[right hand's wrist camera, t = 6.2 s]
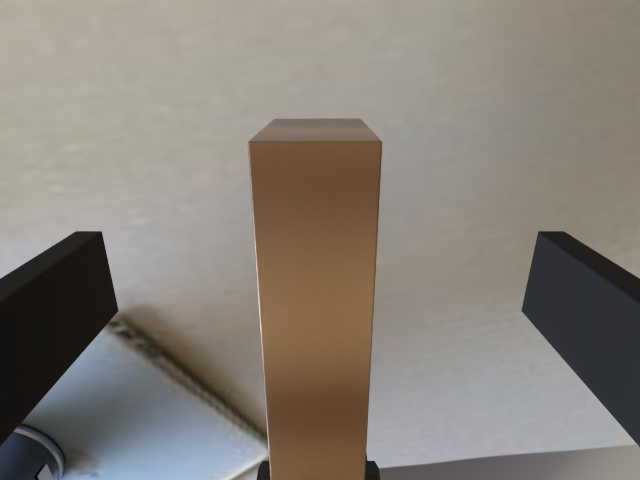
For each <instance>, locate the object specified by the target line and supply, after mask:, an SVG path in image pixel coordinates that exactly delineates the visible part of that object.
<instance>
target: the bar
mask: <svg viewBox="0 0 640 480" xmlns="http://www.w3.org/2000/svg"><path fill="white" fill-rule="evenodd" d="M248 155H249V170H250V185H251V199H252V214H253V228H254V243H255V258H256V272H257V287H258V302H259V316H260V331H261V346H262V360H263V375H264V389H265V404H266V419H267V433H268V448H269V463H270V477H271V480H365V463H366V444H367V425H368V406H369V387H370V367H371V348H372V329H373V310H374V291H375V272H376V252H377V233H378V214H379V195H380V176H381V157H382V141H381V140H380V139H379V138H378V137H377V136H376V135H375V134H374V133H373V132H372V131H371V130H370V129H369V128H368V126H367V125H366V124H365V123H364V122H363V121H362V120H361V119H274V120H273V121H272V122H271V123H269V124H268V125H267V126H266V127H265V128H264V129H262V130H261V131H260V132H259V133H258V134H257V135H255V136H254V137H253V138H252V139H251V140H250V141H248Z"/></svg>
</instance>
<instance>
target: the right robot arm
mask: <svg viewBox="0 0 640 480" xmlns="http://www.w3.org/2000/svg"><path fill="white" fill-rule="evenodd" d="M117 312H118V306H117V302H116V297H115V292H114V288H113V283H112V278H111V273H110V269H109V264H108V259H107V255H106V250H105V245H104V240H103V236H102V231H76V232H75V233H73V234H71V235H70V236H68V237H67V238H65V239H63V240H62V241H60V242H59V243H57V244H55V245H54V246H52V247H51V248H49V249H47V250H46V251H44V252H43V253H41V254H39V255H38V256H36V257H35V258H33V259H31V260H30V261H28V262H27V263H25V264H23V265H22V266H20V267H19V268H17V269H15V270H14V271H12V272H11V273H9V274H7V275H6V276H4V277H3V278H1V279H0V447H1V445H2V444H3V443H4V442H5V441H6V440H7V438H8V437H9V436H10V435H11V434H12V433H13V432H14V430H15V429H16V428H17V427H18V426H19V425H20V423H21V422H22V421H23V420H24V419H25V418H26V417H27V415H28V414H29V413H30V412H31V411H32V410H33V409H34V407H35V406H36V405H37V404H38V403H39V402H40V400H41V399H42V398H43V397H44V396H45V395H46V394H47V392H48V391H49V390H50V389H51V388H52V387H53V386H54V384H55V383H56V382H57V381H58V380H59V379H60V377H61V376H62V375H63V374H64V373H65V372H66V371H67V369H68V368H69V367H70V366H71V365H72V364H73V363H74V361H75V360H76V359H77V358H78V357H79V356H80V354H81V353H82V352H83V351H84V350H85V349H86V348H87V346H88V345H89V344H90V343H91V342H92V341H93V340H94V338H95V337H96V336H97V335H98V334H99V333H100V331H101V330H102V329H103V328H104V327H105V326H106V325H107V323H108V322H109V321H110V320H111V319H112V318H113V317H114V315H115V314H116V313H117ZM522 312H523V313H524V314H525V315H526V317H527V318H528V319H529V320H530V321H531V322H532V323H533V325H534V326H535V327H536V328H537V329H538V330H539V331H540V333H541V334H542V335H543V336H544V337H545V338H546V340H547V341H548V342H549V343H550V344H551V345H552V346H553V348H554V349H555V350H556V351H557V352H558V353H559V354H560V356H561V357H562V358H563V359H564V360H565V361H566V363H567V364H568V365H569V366H570V367H571V368H572V369H573V371H574V372H575V373H576V374H577V375H578V376H579V377H580V379H581V380H582V381H583V382H584V383H585V384H586V386H587V387H588V388H589V389H590V390H591V391H592V392H593V394H594V395H595V396H596V397H597V398H598V399H599V400H600V402H601V403H602V404H603V405H604V406H605V407H606V409H607V410H608V411H609V412H610V413H611V414H612V415H613V417H614V418H615V419H616V420H617V421H618V422H619V423H620V425H621V426H622V427H623V428H624V429H625V430H626V432H627V433H628V434H629V435H630V436H631V437H632V438H633V440H634V441H635V442H636V443H637V444H638V445H639V447H640V279H639V278H637V277H636V276H634V275H633V274H631V273H629V272H628V271H626V270H625V269H623V268H621V267H620V266H618V265H617V264H615V263H613V262H612V261H610V260H609V259H607V258H605V257H604V256H602V255H601V254H599V253H597V252H596V251H594V250H593V249H591V248H589V247H588V246H586V245H585V244H583V243H581V242H580V241H578V240H577V239H575V238H573V237H572V236H570V235H569V234H567V233H565V232H564V231H538V236H537V240H536V245H535V250H534V255H533V259H532V264H531V269H530V273H529V278H528V283H527V288H526V292H525V297H524V302H523V306H522Z"/></svg>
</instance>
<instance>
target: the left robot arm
mask: <svg viewBox="0 0 640 480" xmlns="http://www.w3.org/2000/svg"><path fill="white" fill-rule="evenodd" d="M64 468H65V462H64V458H63V455H62V453H61V451H60V450H59V448H58V447H57V446H56V445H55V444H54V443H53V442H52V441H51V440H50V439H49V438H48V437H46V436H45V435H43V434H41V433H40V432H38V431H36V430H33V429H31V428H28V427H25V426H21V425H19V426H18V427H17V428H16V429H15V430H14V432H13V433H12V434H11V435H10V436H9V437H8V438H7V440H6V441H5V442H4V443H3V444H2V445H1V447H0V480H59V479H60V477H61V476H62V474H63V472H64ZM257 480H271V477H270V463H269V461H263V462H262V463H261V465H260V467H259V468H258V475H257ZM365 480H380V475H379V468H378V466H377V465H376V463H375V461H367V455H366V463H365Z"/></svg>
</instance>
